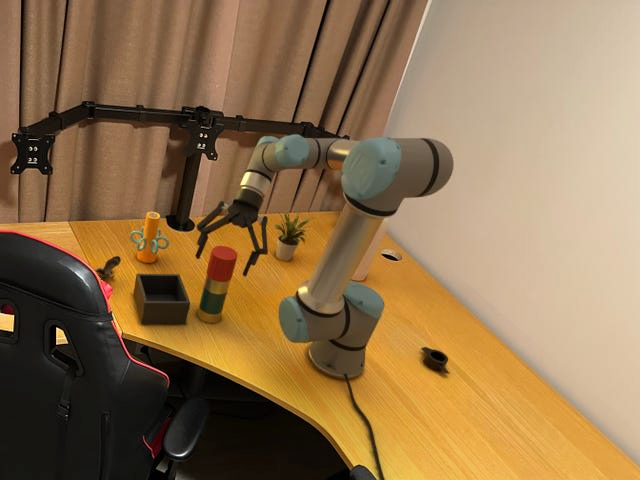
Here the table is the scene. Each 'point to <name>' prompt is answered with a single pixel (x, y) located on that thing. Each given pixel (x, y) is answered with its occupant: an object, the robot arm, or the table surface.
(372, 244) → the bottle
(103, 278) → the eagle figurine
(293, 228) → the house plant
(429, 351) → the black flanged ring
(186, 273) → the table surface
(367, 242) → the robot arm
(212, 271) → the cap
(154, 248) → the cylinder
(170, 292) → the bin
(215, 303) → the spray can
